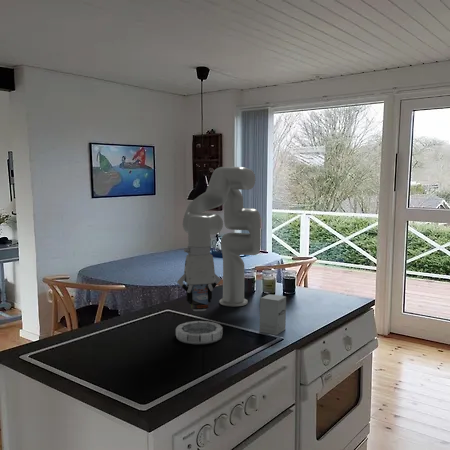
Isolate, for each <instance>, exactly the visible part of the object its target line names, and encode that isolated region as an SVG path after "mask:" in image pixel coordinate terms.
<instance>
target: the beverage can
mask: <svg viewBox="0 0 450 450" xmlns="http://www.w3.org/2000/svg"><path fill="white" fill-rule="evenodd" d="M191 293H192V304H190V309H191V310H193V312H204V311H207V309H209V302H208V285H207V284H203V285H193V287H192V289H191Z"/></svg>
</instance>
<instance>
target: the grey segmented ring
mask: <svg viewBox="0 0 450 450" xmlns="http://www.w3.org/2000/svg"><path fill="white" fill-rule="evenodd" d="M223 331H224V327H223V326H222V325H221V324H220V323H217V322H213V321H208V320H207V321H205V320H194V321H186V322H183V323H181V324H178V325H177V326H176V328H175V336H176V339H177V340H178V342H180V343H184V344H189V345H208V344H209V345H210V344H214V343H216V342H219V341H220V340H222V338H223V333H224V332H223Z"/></svg>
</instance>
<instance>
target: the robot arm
mask: <svg viewBox="0 0 450 450" xmlns="http://www.w3.org/2000/svg"><path fill="white" fill-rule="evenodd" d="M210 176H211V177H210V179H209V182H208V184H207V187H206V190H205V192H203V193H202V194H200V195H198V196H197V197H196V198H194V199H192V201H191V202H189V204H188V206H187V208H186V209H185V213H184V215H183V218H182V219H183V220H182V228H183V231H184V232H185V233H187V235H188V237H187V239H188V240H187V241H188V243H187V247H186V248H184V249H183V252H184V253H187V254H186V256H185V261H184V271H183V275H181V276H180V277H179V279H178V280H177V284H178V285H179V286H180V288H182V289H183V290H184V291H186V294H185V295H186V299H185V300H186V301H187V303H188V304H189V305H191V304H192V293H191V289H192V287H193V285H203V284H207V285H208V303H211V300H212V298H213V291H214V289H215V288H216V286H217V285H218V284H219V283H220V282H221V278H220V277H219V276H218V275H217V274H216V271H215V262H214V256H213V254H211V235H212V236H213V235H217V234H219V233H220V232H221V231H222V230H223V226H224V227H225V228H226V229H228V230H231V231H232V230H233V231H248V232H227V233H224V234H223V235H222V237H221V238H220V239H221V240H220V245H221V253H222V254H221V255H222V298H221V299H219V301H218V302H219V304H220V305H222V306H225V307H234V308H235V307H242V306H246V305H248V299H246V298H245V263H244V262H245V261H244V260H243V259H242V257H241V256H257V255H258V254H259V253H260V251H261V248H262V246H261V245H262V231H261V228H262V226H261V225H262V224H261V223H262V221H261V214H260V211H259V210H257V209H256V208H244V196H243V194H242V192H241V191H242V190H246V191H249V190H250V191H251V190H252V189H253V188H254V186H255V184H256V174H255V172H254V171H253V170H252V169H250V168H247V167H244V166H220V167H217V168H216V169H214V171H213V172H212V174H211V175H210ZM221 206H223V218H222V217H221V216H220V215H219V214H217V213H208V212H207V213H205V212H206V211H209V210H212V209H215V208H218V207H221ZM184 282H185V283H186V285H185V284H184Z"/></svg>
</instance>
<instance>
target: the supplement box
mask: <svg viewBox="0 0 450 450" xmlns="http://www.w3.org/2000/svg"><path fill="white" fill-rule="evenodd" d="M286 312H287V296H284V295H279V294H266V295H265V296H263V297H262V296H261V297H260V298H259V332H261V333H265V334H270V335H274V336H278V335H280V334H281V333H282V332H284V331H286V318H287V317H286V315H287V313H286Z"/></svg>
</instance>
